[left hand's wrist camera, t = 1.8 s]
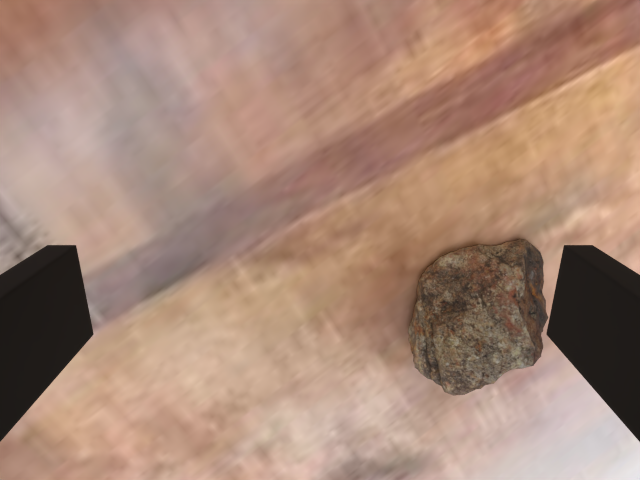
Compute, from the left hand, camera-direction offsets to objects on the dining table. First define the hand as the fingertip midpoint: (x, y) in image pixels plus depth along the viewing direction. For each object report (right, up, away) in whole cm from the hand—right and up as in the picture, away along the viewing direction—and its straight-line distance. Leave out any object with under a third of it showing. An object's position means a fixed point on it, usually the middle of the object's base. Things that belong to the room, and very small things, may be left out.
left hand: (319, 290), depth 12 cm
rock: (+14, -4, +32) cm, 35 cm away
